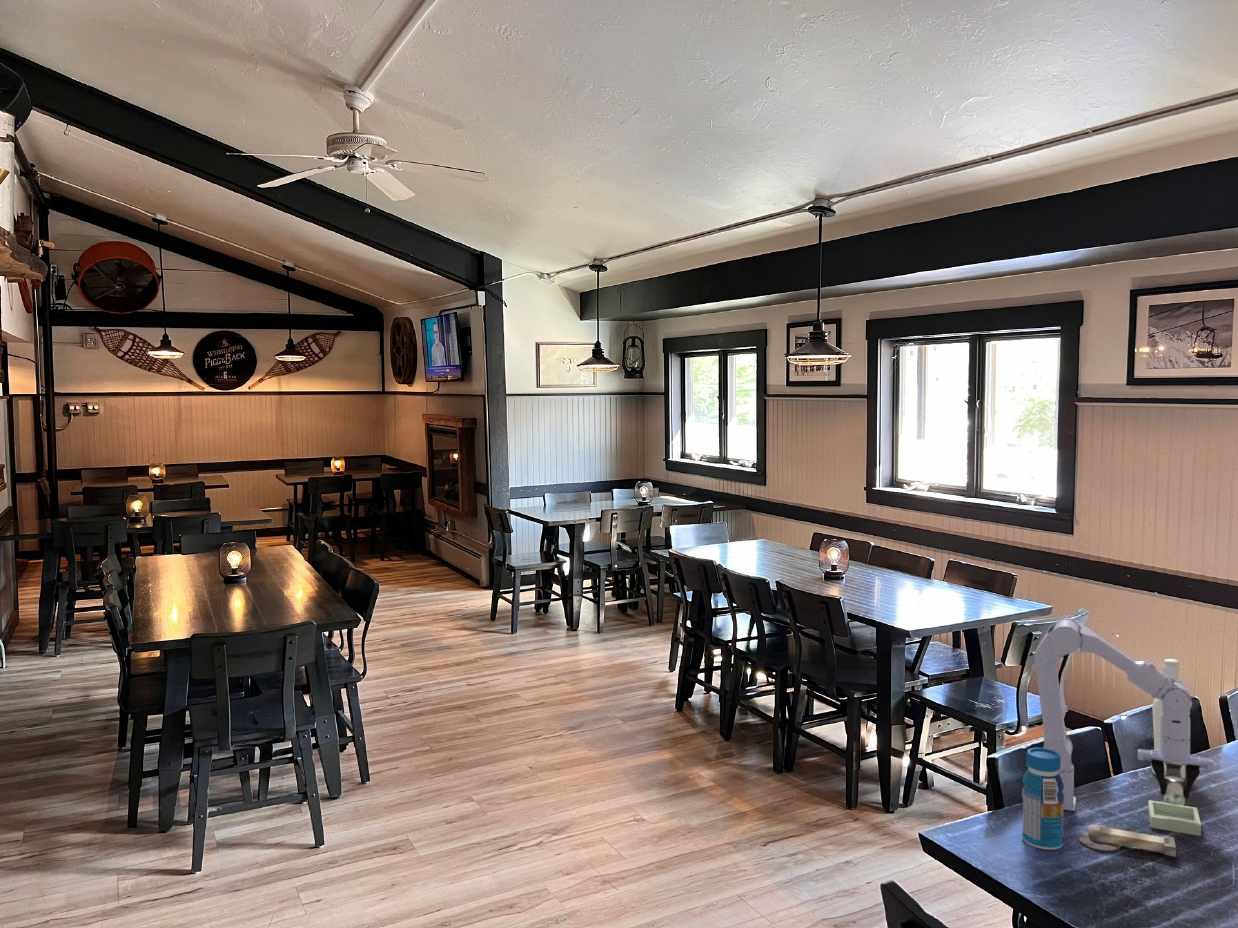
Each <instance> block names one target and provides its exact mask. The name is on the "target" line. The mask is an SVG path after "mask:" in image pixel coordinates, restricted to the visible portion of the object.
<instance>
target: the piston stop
mask: <svg viewBox="0 0 1238 928" xmlns="http://www.w3.org/2000/svg"><path fill="white" fill-rule="evenodd" d="M1164 788H1165V795H1163V800H1164V803H1169V804H1172V805H1183V806H1185V804H1186V798H1185V781H1184V780H1183V779H1181V778H1178V777H1171V776H1169V777H1165V778H1164Z"/></svg>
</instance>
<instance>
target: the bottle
mask: <svg viewBox="0 0 1238 928" xmlns="http://www.w3.org/2000/svg"><path fill="white" fill-rule="evenodd" d="M1180 665H1181V664H1180V662H1179V660H1177V659H1174V658H1166V659H1164V660H1163V665H1162V668H1161V669H1162V673H1163V674H1165V675H1166V676H1168V677H1169V678H1171V677H1173V678H1175V679H1176V680H1177V681H1180V670H1181V669H1180ZM1152 701H1153V702H1152V708H1151V709H1152V710H1151V711H1152V726H1153V728H1152V729H1153V730H1152V731H1153V745H1154V747H1153V748H1154V749H1153V750H1160V740H1161V714H1162V703H1161V700H1160V699H1156V698H1154V699H1153V700H1152ZM1150 768H1151V771H1152V773H1153V774H1154V775H1155V776H1156V774H1155V772H1154V770H1153V768H1152V764H1150ZM1165 774H1166V765H1165V763H1164V775H1165ZM1181 777H1182V778H1183V779H1185V765H1182V767H1181Z"/></svg>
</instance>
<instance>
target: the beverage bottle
mask: <svg viewBox="0 0 1238 928" xmlns="http://www.w3.org/2000/svg"><path fill="white" fill-rule="evenodd" d="M1026 751H1027V752H1026V760H1025V762H1026V767H1028V769H1027V770H1026V771H1025V773H1024V775H1023V777H1022V784H1023V787H1022V790H1021V797H1022V805H1023V806H1022V807H1023V808H1022V812H1023V813H1022V814H1023V815H1022V817H1023V818H1022V819H1023V820H1022V822H1023V823H1022V832H1021V833H1022V839H1023V841H1024V842H1025V843H1026V844H1027V845H1029V846H1031V847H1034V848H1036V849H1039V850H1045V851H1053V850H1059V849H1061V848H1062V847H1063V845H1064V809H1063V804H1064V802H1065V797H1064V794H1063V792H1062V791H1063V789H1064V783H1063V780H1062V778H1061V776H1060V775H1059V773H1058V771H1059V770H1060V765H1061V758H1060V754H1059V753H1057V752H1056V751H1053V750H1050V749H1046V748H1044V747H1031V748H1028V749H1027V750H1026Z"/></svg>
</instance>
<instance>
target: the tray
mask: <svg viewBox="0 0 1238 928" xmlns="http://www.w3.org/2000/svg"><path fill="white" fill-rule="evenodd" d="M1147 803H1148V805H1147V807H1148V808H1147V811H1148V817H1149V820H1148V821H1149V825H1150V827H1149V828H1152V829H1158V830H1164V831H1169V832H1173V833H1174V832H1175V833H1179V834H1181V833H1182V834H1186V835H1191V836H1193V835H1194V836H1199V837H1202V824H1201V819H1200V815H1199V811H1198V807H1193V806H1189V805H1172V804H1169V803H1167V802H1165V801H1164V802H1163V801H1156V800H1151V799H1148V801H1147Z"/></svg>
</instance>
